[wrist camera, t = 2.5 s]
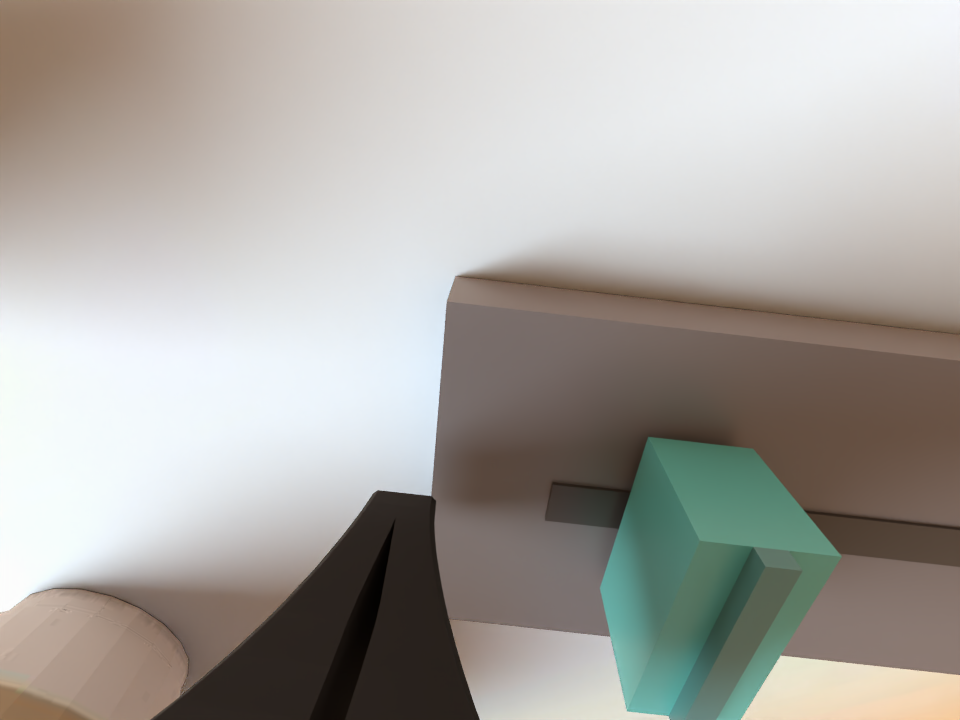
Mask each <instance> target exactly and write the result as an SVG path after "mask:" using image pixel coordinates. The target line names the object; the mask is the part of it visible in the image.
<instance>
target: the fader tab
mask: <svg viewBox="0 0 960 720" xmlns="http://www.w3.org/2000/svg"><path fill="white" fill-rule="evenodd" d="M841 557H842V556H841V555H840V554H839V553H838V551H837V550H836V549H835V548H834V546H833V545H832V544H831V543H830V542H829V540H828V539H827V538H826V537H825V535H824V534H823V533H822V532H821V531H820V529H819V528H818V527H817V526H816V525H815V523H814V522H813V521H812V520H811V518H810V517H809V516H808V515H807V514H806V512H805V511H804V510H803V509H802V507H801V506H800V505H799V504H798V503H797V501H796V500H795V499H794V498H793V496H792V495H791V494H790V493H789V492H788V490H787V489H786V488H785V487H784V485H783V484H782V483H781V482H780V481H779V479H778V478H777V477H776V476H775V475H774V473H773V472H772V471H771V470H770V468H769V467H768V466H767V465H766V464H765V462H764V461H763V460H762V459H761V457H760V456H759V455H758V454H757V453H756V451H755V450H754V449H751V448H742V447H734V446H725V445H716V444H707V443H698V442H690V441H681V440H672V439H663V438H654V437H648V439H647V442H646V445H645V448H644V451H643V455H642V458H641V461H640V464H639V467H638V470H637V473H636V477H635V480H634V483H633V486H632V489H631V492H630V495H629V499H628V502H627V505H626V508H625V511H624V514H623V517H622V521H621V524H620V527H619V530H618V533H617V536H616V539H615V542H614V546H613V549H612V552H611V555H610V558H609V561H608V564H607V568H606V571H605V574H604V577H603V580H602V583H601V586H600V591H601V596H602V600H603V605H604V609H605V614H606V618H607V623H608V627H609V632H610V636H611V641H612V646H613V650H614V655H615V659H616V664H617V668H618V673H619V677H620V682H621V686H622V691H623V695H624V700H625V704H626V709H627V711H629V712H638V713H647V714H657V715H666V716H669V718H670V720H741V718H742V716H743V715H744V713H745V712H746V710H747V708H748V707H749V705H750V704H751V702H752V700H753V699H754V697H755V696H756V694H757V692H758V691H759V689H760V687H761V686H762V684H763V683H764V681H765V679H766V678H767V676H768V675H769V673H770V671H771V670H772V668H773V667H774V665H775V663H776V662H777V660H778V659H779V657H780V655H781V654H782V652H783V650H784V649H785V647H786V646H787V644H788V642H789V641H790V639H791V638H792V636H793V634H794V633H795V631H796V630H797V628H798V626H799V625H800V623H801V622H802V620H803V618H804V617H805V615H806V613H807V612H808V610H809V609H810V607H811V605H812V604H813V602H814V601H815V599H816V597H817V596H818V594H819V593H820V591H821V589H822V588H823V586H824V585H825V583H826V581H827V580H828V578H829V576H830V575H831V573H832V572H833V570H834V568H835V567H836V565H837V564H838V562H839V560H840V559H841Z"/></svg>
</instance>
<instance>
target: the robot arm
mask: <svg viewBox="0 0 960 720" xmlns="http://www.w3.org/2000/svg"><path fill="white" fill-rule="evenodd" d="M435 511H436V500H435V499H434V498H433V497H432V496H424V495H415V494H406V493H397V492H388V491H379V490H378V491H376V492H375V493H373V495H372V496H371V498H370V499H369V501H368V502H367V504H366V505H365V507H364V508H363V509H362V511H361V512H360V514H359V515H358V516H357V518H356V519H355V520H354V522H353V523H352V524H351V526H350V527H349V528H348V529H347V531H346V532H345V533H344V535H343V536H342V537H341V538H340V540H339V541H338V542H337V543H336V544H335V546H334V547H333V548H332V549H331V550H330V551H329V553H328V554H327V555H326V556H325V557H324V559H323V560H322V561H321V562H320V563H319V565H318V566H317V567H316V568H315V569H314V570H313V571H312V572H311V574H310V575H309V576H308V577H307V578H306V579H305V580H304V581H303V582H302V583H301V584H300V585H299V586H298V588H297V589H296V590H295V591H294V592H293V593H292V594H291V595H290V596H289V597H288V598H287V599H286V600H285V601H284V603H283V604H282V605H281V606H280V607H279V608H278V609H277V610H276V611H275V612H274V613H273V614H272V615H271V616H270V617H269V618H268V619H267V620H266V621H265V622H263V623H262V624H261V625H260V626H259V627H258V628H257V629H256V630H255V631H254V632H253V633H252V634H251V635H250V636H249V637H248V638H247V639H246V640H244V641H243V642H242V643H241V644H240V645H239V646H238V647H237V648H236V649H235V650H233V651H232V652H231V653H230V654H229V655H228V656H227V657H225V658H224V659H223V660H222V661H221V662H220V663H219V664H218V665H216V666H215V667H214V668H213V669H212V670H211V671H210V672H208V673H207V674H206V675H205V676H204V677H203V678H201V679H200V680H199V681H198V682H197V683H196V684H194V685H193V686H192V687H191V688H190V689H188V690H187V691H186V692H185V693H183V694H182V695H181V696H180V697H179V698H177V699H176V700H175V701H174V702H172V703H171V704H170V705H168V706H167V707H166V708H165V709H163V710H162V711H161V712H159V713H158V714H157V715H156V716H154V717H153V718H152V719H150V720H480V719H479V716H478V714H477V711H476V708H475V706H474V703H473V700H472V697H471V694H470V690H469V687H468V684H467V681H466V678H465V675H464V672H463V669H462V665H461V662H460V658H459V655H458V652H457V648H456V645H455V641H454V637H453V633H452V629H451V625H450V621H449V617H448V613H447V608H446V604H445V599H444V594H443V590H442V584H441V578H440V572H439V566H438V560H437V552H436V542H435V526H434V522H435Z"/></svg>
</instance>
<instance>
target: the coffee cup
mask: <svg viewBox="0 0 960 720" xmlns="http://www.w3.org/2000/svg"><path fill="white" fill-rule="evenodd" d="M187 675H188V658H187V655H186V653H185V651H184V649H183V646H182V644H181V642H180V641H179V640H178V639H177V638H176V637H175V636H174V635H173V634H172V632H171V631H170V630H169V629H168V628H167V627H166V626H165V625H164V624H162V623H161V622H160V621H158V620H157V619H155V618H154V617H152V616H151V615H149V614H148V613H146V612H145V611H143V610H142V609H140V608H138V607H135V606H133V605H131V604H128V603H126V602H124V601H121V600H119V599H117V598H114V597H112V596H108V595H103V594H99V593H95V592H91V591H86V590H80V589H51V590H46V591H42V592H38V593H34V594H31V595H29V596H28V597H26V598H25V599H24V600H22V601H21V602H20V603H18V604H17V605H16V606H14V607H13V608H12V609H10V610H9V611H5V612H1V613H0V720H150V719H152V718H153V717H154V716H156V715H157V714H158V713H159V712H161V711H162V710H163V709H165V708H166V707H167V706H168V705H170V704H171V703H172V702H174V701H175V700H176V699H177V698H179V697H180V692H181V688H182V686H183V684H184V682H185V679H186V677H187Z"/></svg>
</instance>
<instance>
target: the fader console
mask: <svg viewBox="0 0 960 720" xmlns="http://www.w3.org/2000/svg"><path fill="white" fill-rule="evenodd" d="M648 437H654V438H663V439H672V440H681V441H690V442H698V443H707V444H716V445H725V446H734V447H742V448H751V449H754V450H755V451H756V453H757V454H758V455H759V456H760V457H761V459H762V460H763V461H764V462H765V464H766V465H767V466H768V467H769V468H770V470H771V471H772V472H773V473H774V475H775V476H776V477H777V478H778V479H779V481H780V482H781V483H782V484H783V485H784V487H785V488H786V489H787V490H788V492H789V493H790V494H791V495H792V496H793V498H794V499H795V500H796V501H797V503H798V504H799V505H800V506H801V507H802V509H803V510H804V511H805V512H806V514H807V515H808V516H809V517H810V518H811V520H812V521H813V522H814V523H815V525H816V526H817V527H818V528H819V529H820V531H821V532H822V533H823V534H824V535H825V537H826V538H827V539H828V540H829V542H830V543H831V544H832V545H833V546H834V548H835V549H836V550H837V551H838V553H839V554H840V555H841V556H842V557H841V559H840V560H839V562H838V564H837V565H836V567H835V568H834V570H833V572H832V573H831V575H830V576H829V578H828V580H827V581H826V583H825V585H824V586H823V588H822V589H821V591H820V593H819V594H818V596H817V597H816V599H815V601H814V602H813V604H812V605H811V607H810V609H809V610H808V612H807V613H806V615H805V617H804V618H803V620H802V622H801V623H800V625H799V626H798V628H797V630H796V631H795V633H794V634H793V636H792V638H791V639H790V641H789V642H788V644H787V646H786V647H785V649H784V650H783V652H782V654H781V655H783V656H792V657H801V658H810V659H819V660H828V661H837V662H846V663H855V664H864V665H874V666H883V667H892V668H901V669H910V670H919V671H928V672H937V673H946V674H955V675H960V335H958V334H949V333H941V332H932V331H924V330H915V329H906V328H898V327H889V326H880V325H872V324H863V323H855V322H846V321H837V320H829V319H820V318H812V317H803V316H794V315H786V314H777V313H768V312H760V311H751V310H743V309H734V308H725V307H717V306H708V305H699V304H691V303H682V302H674V301H665V300H656V299H648V298H639V297H630V296H622V295H613V294H605V293H596V292H587V291H579V290H570V289H561V288H553V287H544V286H536V285H527V284H518V283H510V282H501V281H493V280H484V279H475V278H467V277H458V276H455V279H454V282H453V285H452V288H451V291H450V294H449V297H448V300H447V307H446V320H445V332H444V345H443V358H442V370H441V383H440V395H439V408H438V421H437V433H436V446H435V458H434V471H433V484H432V497H433V498H434V499H435V500H436V511H435V522H434V526H435V542H436V552H437V560H438V566H439V572H440V578H441V584H442V590H443V594H444V599H445V604H446V608H447V613H448V617H449V619H455V620H464V621H473V622H483V623H492V624H501V625H510V626H519V627H528V628H537V629H546V630H555V631H564V632H573V633H583V634H592V635H601V636H610V632H609V627H608V623H607V618H606V614H605V609H604V605H603V600H602V596H601V591H600V586H601V583H602V580H603V577H604V574H605V571H606V568H607V564H608V561H609V558H610V555H611V552H612V549H613V546H614V542H615V539H616V536H617V533H618V530H619V527H620V524H621V521H622V517H623V514H624V511H625V508H626V505H627V502H628V499H629V495H630V492H631V489H632V486H633V483H634V480H635V477H636V473H637V470H638V467H639V464H640V461H641V458H642V455H643V451H644V448H645V445H646V442H647V439H648ZM610 637H611V636H610Z"/></svg>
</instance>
